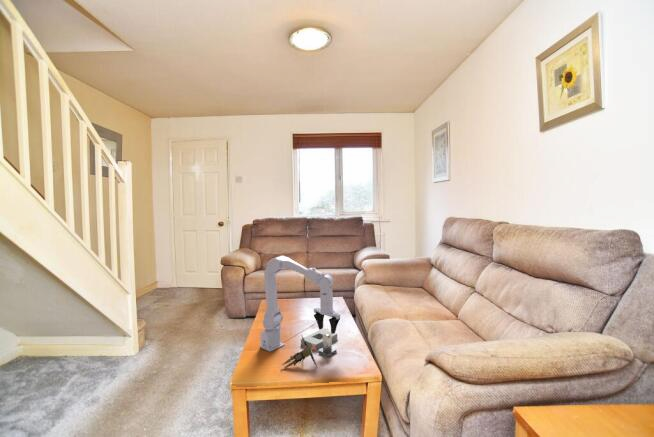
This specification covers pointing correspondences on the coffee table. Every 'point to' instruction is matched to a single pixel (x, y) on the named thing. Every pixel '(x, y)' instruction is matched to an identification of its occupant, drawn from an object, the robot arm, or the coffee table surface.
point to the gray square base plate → (327, 354)
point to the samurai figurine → (301, 354)
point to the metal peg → (327, 342)
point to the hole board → (317, 339)
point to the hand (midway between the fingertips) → (327, 330)
